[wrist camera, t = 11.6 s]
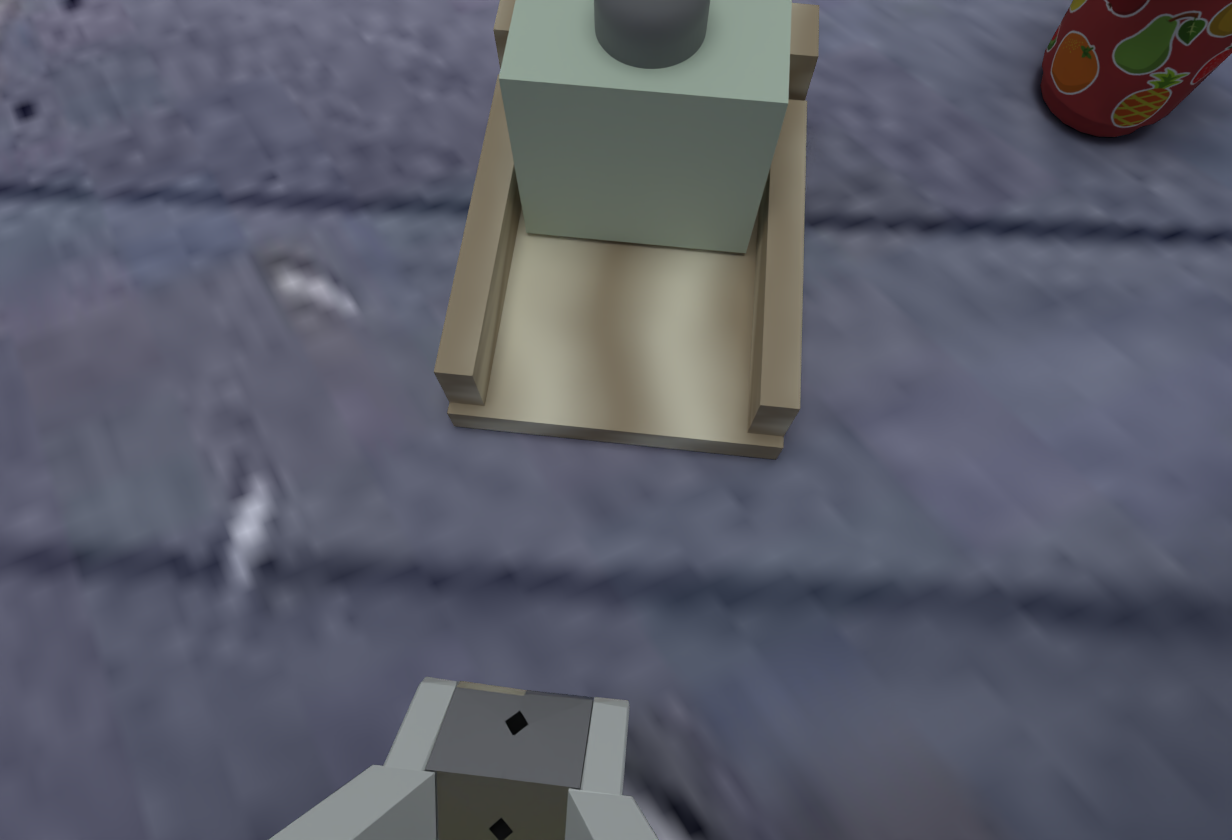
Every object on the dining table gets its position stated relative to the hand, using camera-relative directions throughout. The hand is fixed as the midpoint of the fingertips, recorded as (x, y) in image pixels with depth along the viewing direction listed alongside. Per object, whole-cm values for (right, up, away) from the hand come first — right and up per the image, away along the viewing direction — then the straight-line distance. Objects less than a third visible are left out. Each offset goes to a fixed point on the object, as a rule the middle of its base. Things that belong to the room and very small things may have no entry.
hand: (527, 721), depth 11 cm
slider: (+2, +15, +25) cm, 29 cm away
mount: (+2, +12, +25) cm, 28 cm away
